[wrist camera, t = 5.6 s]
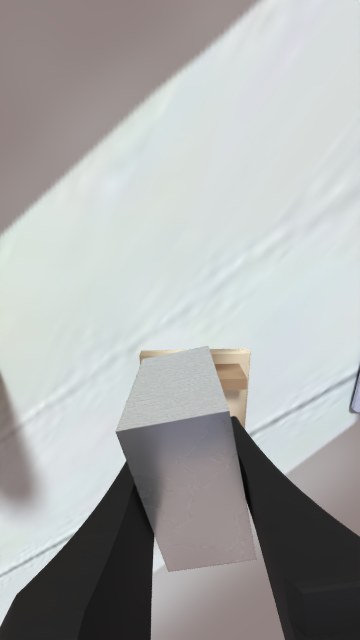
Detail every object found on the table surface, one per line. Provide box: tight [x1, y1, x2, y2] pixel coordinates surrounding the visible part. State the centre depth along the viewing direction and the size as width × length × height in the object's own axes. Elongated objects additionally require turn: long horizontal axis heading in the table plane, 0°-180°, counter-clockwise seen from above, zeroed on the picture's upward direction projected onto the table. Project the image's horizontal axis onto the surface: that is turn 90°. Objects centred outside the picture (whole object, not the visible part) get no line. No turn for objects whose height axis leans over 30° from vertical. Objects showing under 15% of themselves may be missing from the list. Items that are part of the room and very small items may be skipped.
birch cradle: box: [140, 349, 251, 429], centre depth 20 cm, size 10×14×4 cm
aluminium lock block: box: [116, 346, 256, 572], centre depth 11 cm, size 4×8×6 cm, turn 12°
